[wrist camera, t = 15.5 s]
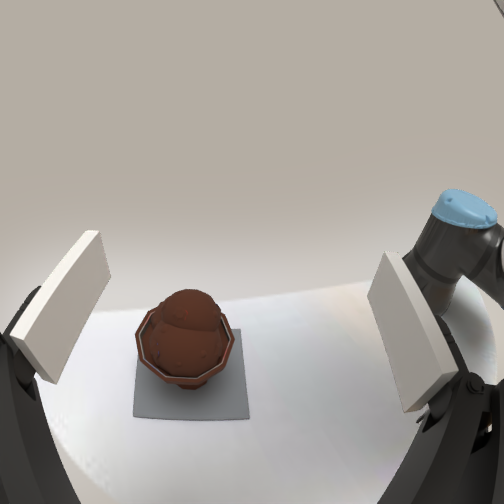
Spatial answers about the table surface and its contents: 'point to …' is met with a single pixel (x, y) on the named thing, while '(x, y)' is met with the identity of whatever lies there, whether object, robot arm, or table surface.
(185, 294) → the ice cream bowl
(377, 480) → the table surface
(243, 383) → the slate mat
